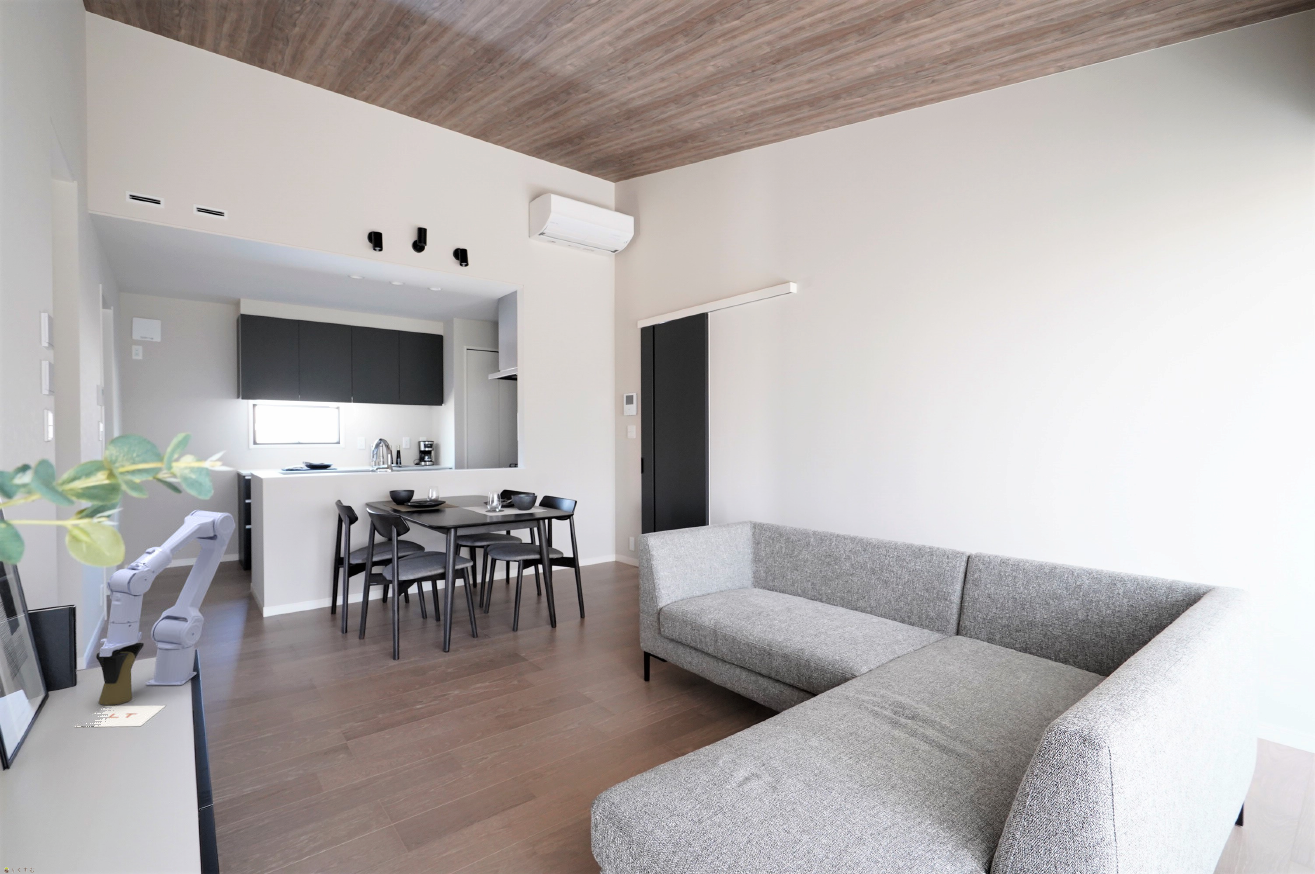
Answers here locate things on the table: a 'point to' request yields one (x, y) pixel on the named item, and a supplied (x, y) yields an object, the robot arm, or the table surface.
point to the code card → (127, 716)
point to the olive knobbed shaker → (119, 685)
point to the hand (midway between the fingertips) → (116, 679)
